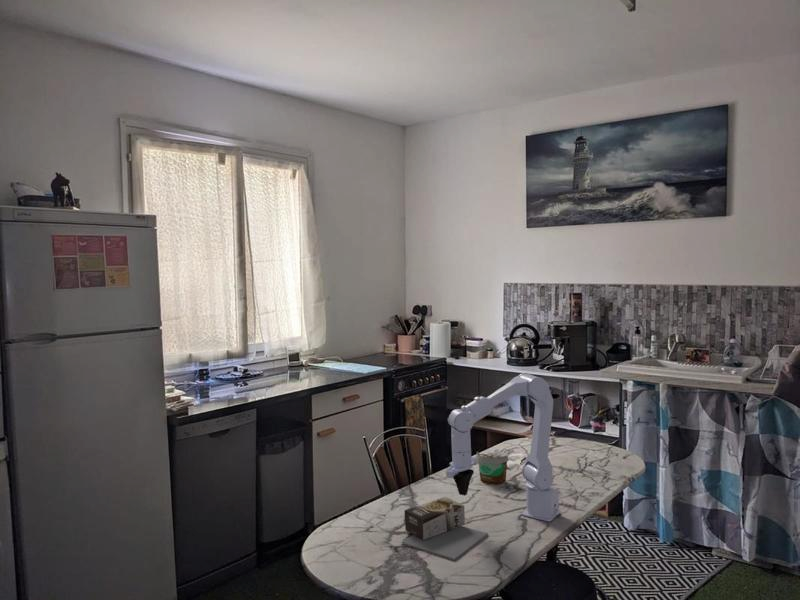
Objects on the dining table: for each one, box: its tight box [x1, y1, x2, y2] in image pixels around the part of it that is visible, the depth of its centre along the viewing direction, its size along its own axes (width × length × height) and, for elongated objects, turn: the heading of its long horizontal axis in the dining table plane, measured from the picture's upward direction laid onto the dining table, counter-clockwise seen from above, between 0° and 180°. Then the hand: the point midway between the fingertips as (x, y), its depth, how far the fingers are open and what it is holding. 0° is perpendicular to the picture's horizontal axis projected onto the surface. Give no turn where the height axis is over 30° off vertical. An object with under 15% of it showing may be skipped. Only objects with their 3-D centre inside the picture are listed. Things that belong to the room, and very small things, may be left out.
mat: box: [400, 525, 489, 562], centre depth 171 cm, size 18×18×1 cm
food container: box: [475, 451, 509, 486], centre depth 214 cm, size 12×6×10 cm, turn 62°
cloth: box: [507, 452, 528, 471], centre depth 236 cm, size 26×14×2 cm, turn 134°
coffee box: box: [404, 496, 466, 540], centre depth 177 cm, size 9×6×16 cm
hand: (463, 494), depth 179 cm, fingers closed
